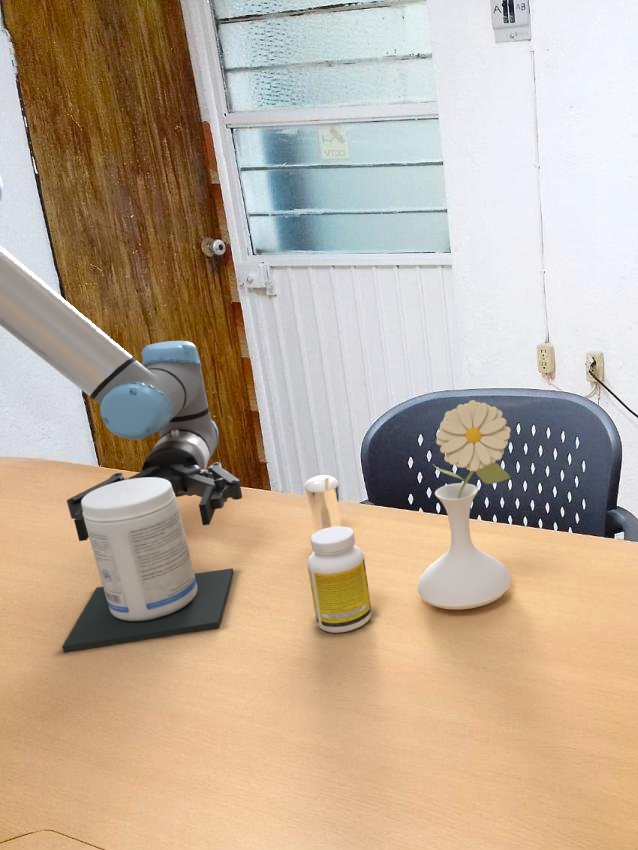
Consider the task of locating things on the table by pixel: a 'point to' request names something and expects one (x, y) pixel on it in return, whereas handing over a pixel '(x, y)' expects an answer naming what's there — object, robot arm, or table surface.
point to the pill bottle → (338, 580)
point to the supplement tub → (140, 548)
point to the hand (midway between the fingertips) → (143, 522)
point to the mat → (195, 616)
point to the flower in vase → (467, 510)
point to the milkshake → (323, 501)
